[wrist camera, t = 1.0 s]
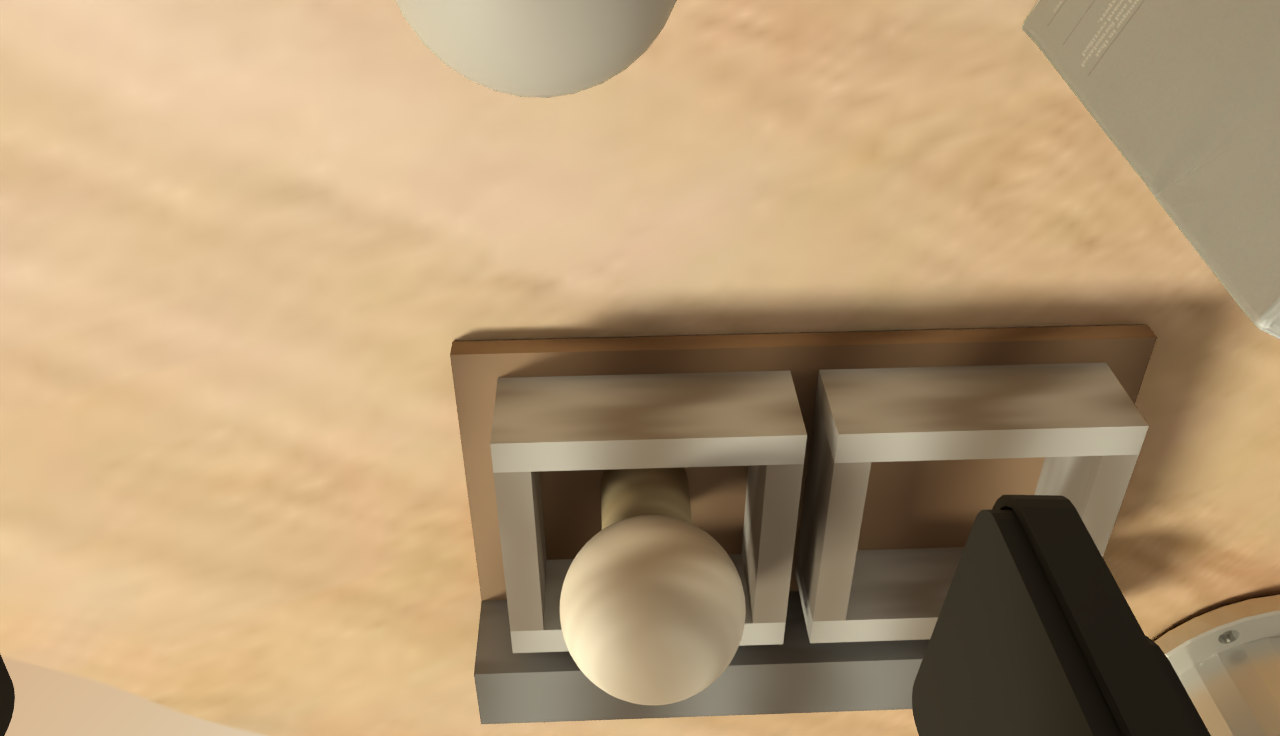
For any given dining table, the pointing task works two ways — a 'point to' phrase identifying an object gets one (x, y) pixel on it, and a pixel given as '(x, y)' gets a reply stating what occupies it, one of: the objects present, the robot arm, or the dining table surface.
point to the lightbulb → (537, 40)
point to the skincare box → (1188, 119)
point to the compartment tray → (761, 504)
